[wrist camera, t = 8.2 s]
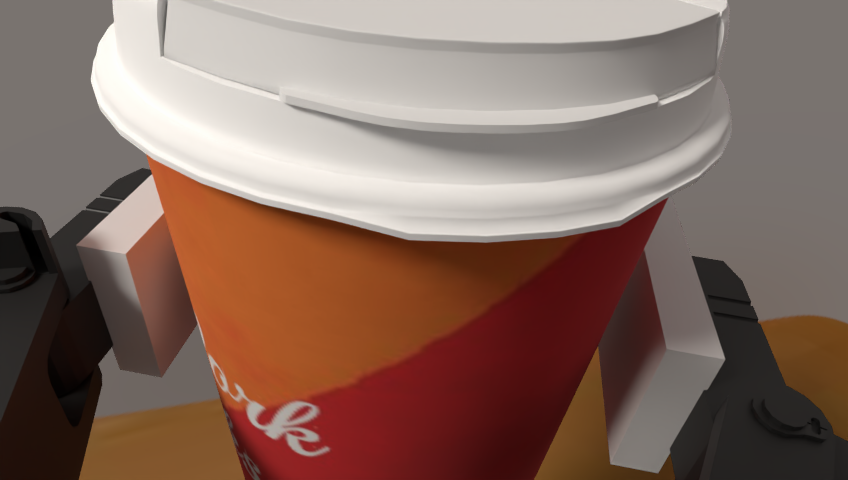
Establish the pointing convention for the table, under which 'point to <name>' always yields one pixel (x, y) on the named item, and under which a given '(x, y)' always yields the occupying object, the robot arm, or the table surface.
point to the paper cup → (410, 207)
